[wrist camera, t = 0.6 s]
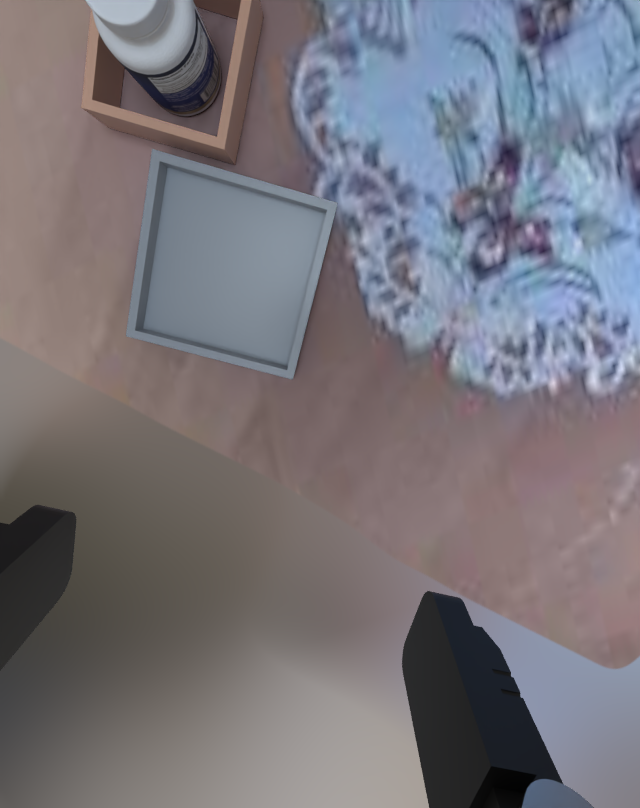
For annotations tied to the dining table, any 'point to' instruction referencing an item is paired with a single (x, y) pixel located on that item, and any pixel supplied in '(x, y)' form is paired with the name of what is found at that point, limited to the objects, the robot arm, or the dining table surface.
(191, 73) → the pill bottle
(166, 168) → the tray
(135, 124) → the holder
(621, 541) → the dining table surface
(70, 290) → the dining table surface
